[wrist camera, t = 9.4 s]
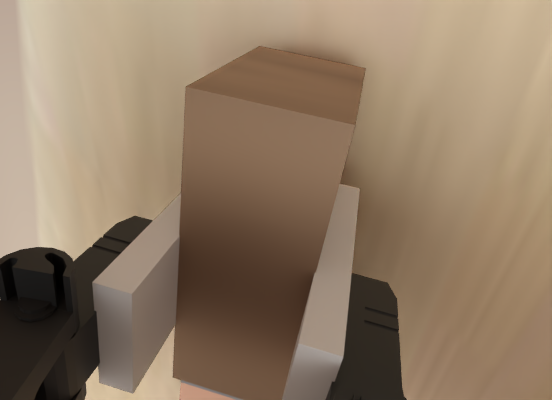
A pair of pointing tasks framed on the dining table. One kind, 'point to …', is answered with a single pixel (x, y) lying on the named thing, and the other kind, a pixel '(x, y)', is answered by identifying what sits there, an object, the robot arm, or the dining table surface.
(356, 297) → the robot arm
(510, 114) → the dining table surface
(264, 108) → the tall brown block
